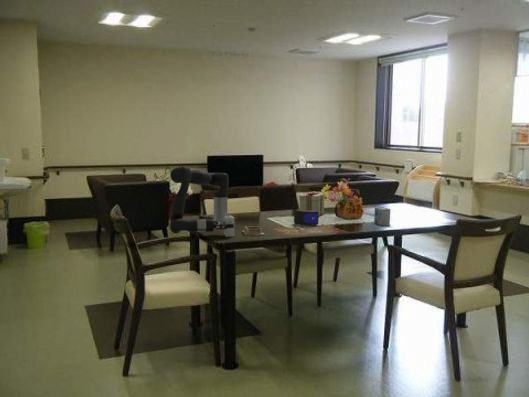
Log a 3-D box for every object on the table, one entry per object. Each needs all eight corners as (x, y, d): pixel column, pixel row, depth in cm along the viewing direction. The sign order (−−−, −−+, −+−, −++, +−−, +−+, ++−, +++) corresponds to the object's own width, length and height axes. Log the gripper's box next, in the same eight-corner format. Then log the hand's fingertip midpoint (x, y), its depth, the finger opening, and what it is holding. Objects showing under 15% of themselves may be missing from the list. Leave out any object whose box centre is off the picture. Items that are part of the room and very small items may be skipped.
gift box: (300, 212, 404) (301, 189, 402) (324, 213, 398) (325, 191, 396) (294, 215, 388) (295, 192, 386) (319, 217, 382) (319, 193, 380)
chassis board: (242, 231, 324) (242, 225, 323) (259, 231, 326) (259, 224, 326) (246, 235, 311) (246, 229, 311) (264, 235, 314) (264, 228, 313)
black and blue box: (293, 224, 350) (293, 210, 348) (294, 223, 354) (294, 209, 353) (317, 226, 347) (318, 211, 346) (318, 224, 352) (318, 210, 350)
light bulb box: (373, 222, 363) (374, 206, 362) (382, 222, 365) (383, 206, 363) (381, 225, 353) (381, 209, 351) (390, 224, 354) (390, 208, 353)
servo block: (224, 234, 313) (224, 215, 312) (232, 234, 315) (232, 215, 313) (225, 236, 309) (225, 216, 307) (234, 236, 310) (234, 216, 308)
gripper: (206, 221, 300) (234, 220, 304) (203, 217, 314) (230, 216, 318) (206, 234, 301) (234, 233, 305) (203, 229, 315) (230, 228, 319)
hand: (232, 224), depth 311 cm, fingers open, 8 cm apart
